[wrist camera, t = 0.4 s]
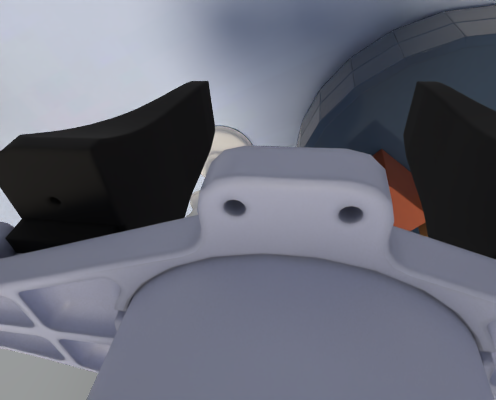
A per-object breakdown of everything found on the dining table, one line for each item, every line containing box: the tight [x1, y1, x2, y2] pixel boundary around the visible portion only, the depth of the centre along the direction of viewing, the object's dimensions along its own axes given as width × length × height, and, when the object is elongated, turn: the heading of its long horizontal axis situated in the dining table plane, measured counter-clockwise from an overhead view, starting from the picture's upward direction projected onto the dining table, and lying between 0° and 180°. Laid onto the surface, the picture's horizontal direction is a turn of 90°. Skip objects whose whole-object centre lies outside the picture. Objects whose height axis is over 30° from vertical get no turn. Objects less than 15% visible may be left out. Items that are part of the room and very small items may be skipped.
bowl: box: [296, 5, 496, 234], centre depth 23 cm, size 19×19×4 cm
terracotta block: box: [372, 149, 426, 231], centre depth 25 cm, size 4×4×4 cm
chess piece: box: [185, 126, 252, 218], centre depth 24 cm, size 5×5×10 cm
